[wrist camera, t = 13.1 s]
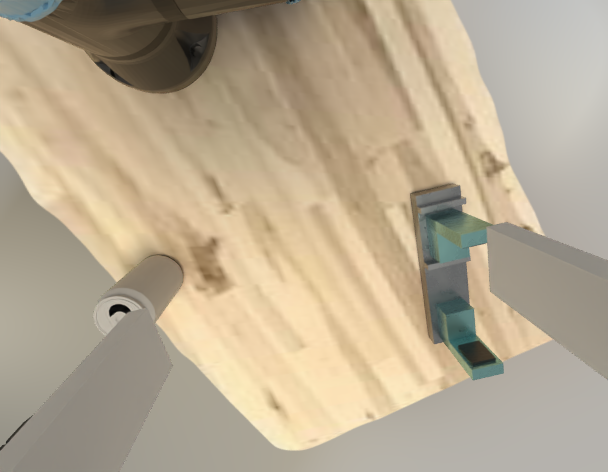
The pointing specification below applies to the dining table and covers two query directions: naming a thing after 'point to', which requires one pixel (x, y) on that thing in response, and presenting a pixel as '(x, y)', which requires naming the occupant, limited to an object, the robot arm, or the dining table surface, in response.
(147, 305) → the beverage can
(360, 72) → the dining table surface
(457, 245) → the teal block
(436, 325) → the rail
